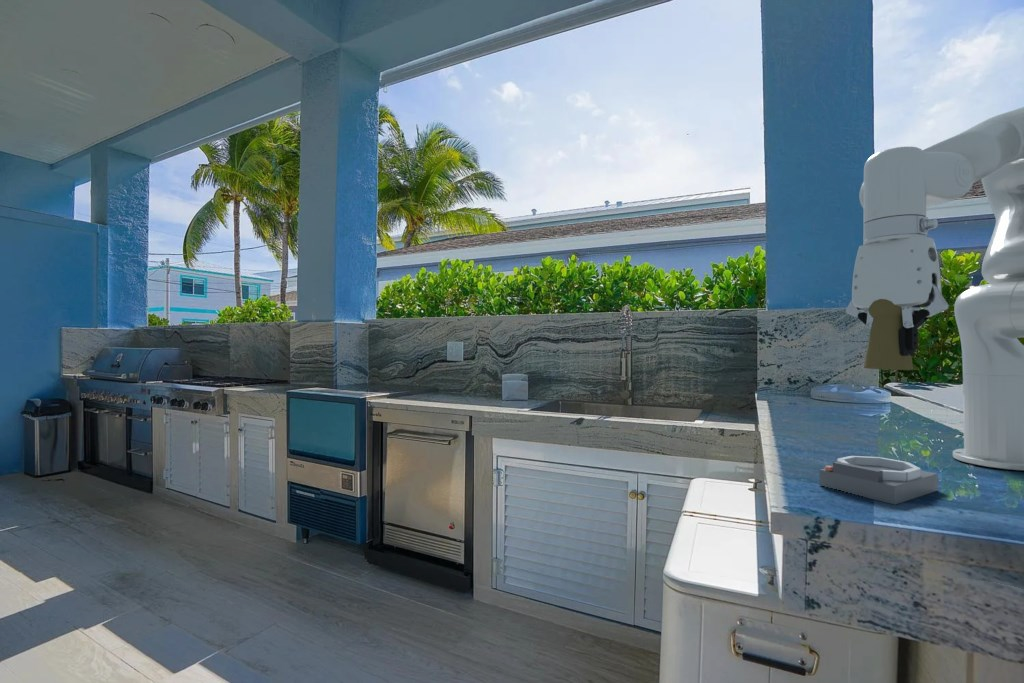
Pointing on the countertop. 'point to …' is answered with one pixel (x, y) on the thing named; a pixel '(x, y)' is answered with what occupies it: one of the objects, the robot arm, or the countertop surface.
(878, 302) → the cork
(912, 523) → the countertop surface
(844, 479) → the octagon ring plate
